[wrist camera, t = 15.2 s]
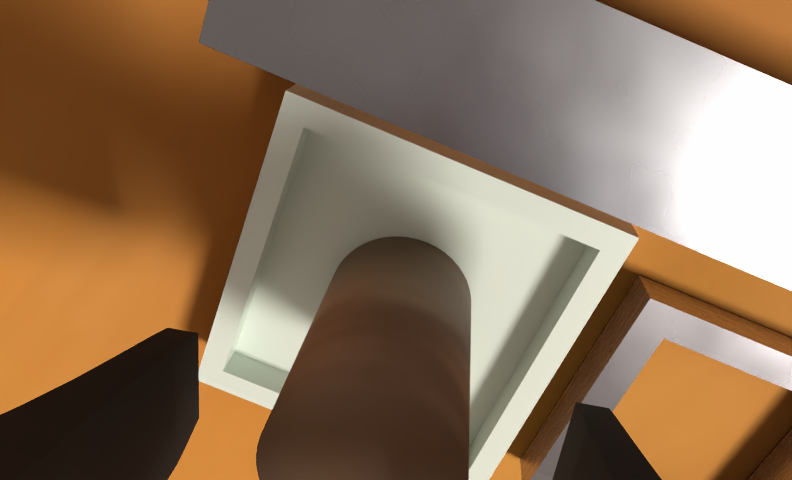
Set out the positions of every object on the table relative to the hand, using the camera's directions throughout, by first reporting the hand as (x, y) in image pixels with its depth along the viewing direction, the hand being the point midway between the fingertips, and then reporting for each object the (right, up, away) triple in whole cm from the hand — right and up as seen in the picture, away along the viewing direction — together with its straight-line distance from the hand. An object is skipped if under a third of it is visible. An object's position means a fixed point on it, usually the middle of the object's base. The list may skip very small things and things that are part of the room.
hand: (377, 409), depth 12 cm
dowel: (0, +2, +4) cm, 4 cm away
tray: (0, +2, +5) cm, 5 cm away
